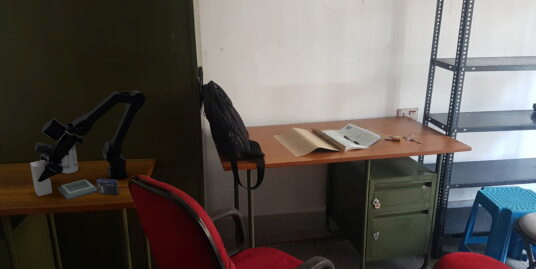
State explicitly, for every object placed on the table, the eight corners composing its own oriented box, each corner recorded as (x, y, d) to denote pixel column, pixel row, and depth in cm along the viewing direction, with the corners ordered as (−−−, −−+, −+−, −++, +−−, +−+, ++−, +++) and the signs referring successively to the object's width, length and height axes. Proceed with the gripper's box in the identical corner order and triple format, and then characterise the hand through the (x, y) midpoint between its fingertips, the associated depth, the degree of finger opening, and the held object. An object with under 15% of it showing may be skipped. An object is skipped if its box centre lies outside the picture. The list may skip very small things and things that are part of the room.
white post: (48, 188, 175) (44, 159, 171) (52, 192, 171) (47, 163, 167) (35, 192, 172) (30, 162, 168) (38, 196, 168) (33, 166, 164)
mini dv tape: (97, 193, 171) (96, 179, 169) (100, 192, 172) (98, 178, 170) (117, 195, 170) (115, 181, 168) (119, 193, 171) (117, 180, 169)
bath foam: (74, 166, 197) (69, 124, 191) (80, 171, 192) (75, 128, 186) (59, 170, 192) (52, 127, 186) (64, 175, 188) (58, 131, 181)
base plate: (87, 181, 181) (87, 177, 181) (98, 191, 173) (98, 186, 172) (57, 189, 174) (57, 185, 173) (67, 200, 165) (66, 195, 165)
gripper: (42, 128, 174) (16, 159, 171) (49, 141, 159) (20, 175, 156) (66, 143, 180) (41, 173, 178) (75, 157, 165) (47, 190, 163)
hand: (37, 177), depth 168 cm, fingers open, 9 cm apart
